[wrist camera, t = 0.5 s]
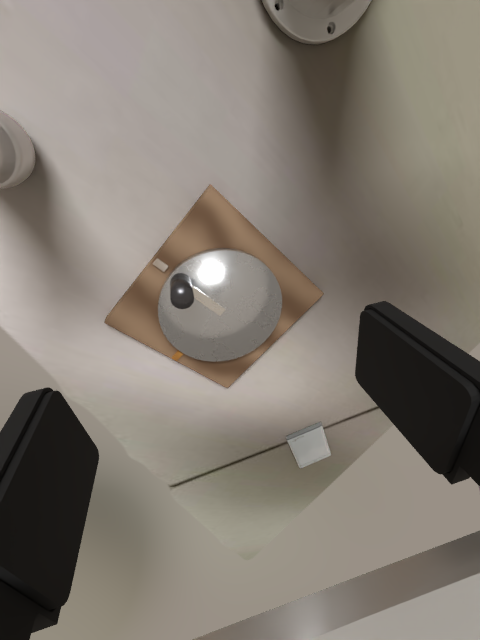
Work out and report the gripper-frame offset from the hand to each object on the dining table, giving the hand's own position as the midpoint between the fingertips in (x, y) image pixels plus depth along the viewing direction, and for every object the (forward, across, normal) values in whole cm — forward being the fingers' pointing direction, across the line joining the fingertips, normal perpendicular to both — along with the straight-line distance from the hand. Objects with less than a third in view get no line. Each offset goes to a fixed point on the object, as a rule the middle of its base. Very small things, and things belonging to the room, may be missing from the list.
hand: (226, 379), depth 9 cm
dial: (+28, -2, +13) cm, 31 cm away
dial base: (+30, -2, +13) cm, 33 cm away
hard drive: (+31, -16, +53) cm, 64 cm away
